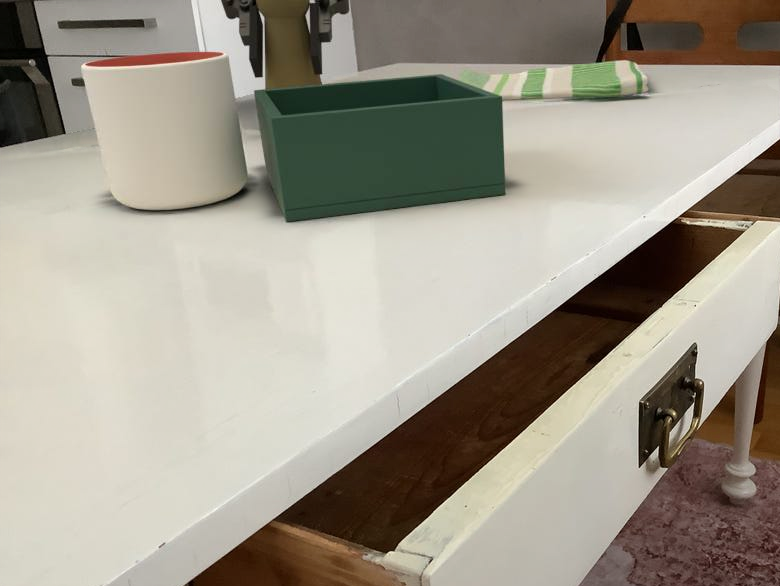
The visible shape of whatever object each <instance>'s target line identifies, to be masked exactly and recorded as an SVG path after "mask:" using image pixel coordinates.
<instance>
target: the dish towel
mask: <svg viewBox="0 0 780 586" xmlns="http://www.w3.org/2000/svg"><path fill="white" fill-rule="evenodd" d="M457 80H459V81H461V82H464V83H467V84H469V85H472V86H475V87H477V88H480V89H483V90H485V91H488V92H491V93H493V94H496V95H499V96H502V101H509V100H510V101H513V100H514V101H515V100H539V99H566V100H580V99H581V100H582V99H599V98H600V99H601V98H613V97H614V98H615V97H622V96H630V95H639V94H642V93H647V92H648V91H650V88H649V86H648V83H649V78H648V76H647V75H645V73H644V71H643V70H642V68H640V66H639V65H638V63H636V62H634V61H631V60H627V59H621V60H612V61H611V60H609V61H603V62H591V63H582V64H572V65H567V66H559V67H550V68H549V67H545V68H543V67H542V68H535V69H530V70H529V69H528V70H524V71H522V72H519V73H501V74H500V73H499V74H490V73H489V74H487V73H479V72H476V71H473V70H469V69H467V70H466V69H465V70H463V71H461V73H460V78H458V79H457Z"/></svg>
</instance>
